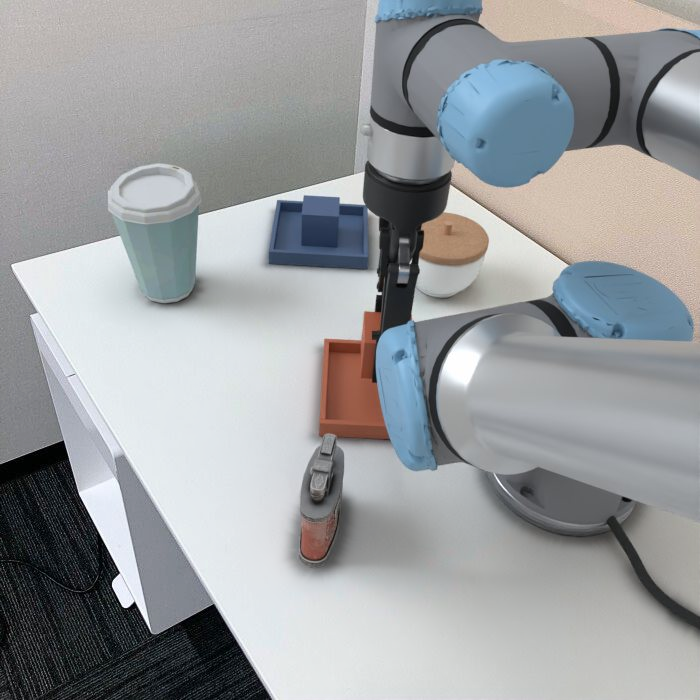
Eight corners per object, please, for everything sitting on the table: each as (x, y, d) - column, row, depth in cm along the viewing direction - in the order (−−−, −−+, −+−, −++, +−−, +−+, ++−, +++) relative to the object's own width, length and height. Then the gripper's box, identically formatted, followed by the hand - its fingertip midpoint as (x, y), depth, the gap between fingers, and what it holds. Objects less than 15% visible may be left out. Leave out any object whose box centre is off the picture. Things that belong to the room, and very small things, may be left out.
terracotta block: (408, 381, 77) (414, 345, 74) (360, 378, 77) (364, 342, 74) (406, 348, 81) (411, 313, 77) (360, 346, 81) (364, 311, 77)
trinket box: (482, 311, 94) (496, 250, 88) (398, 306, 94) (406, 244, 87) (474, 262, 102) (486, 203, 96) (396, 257, 102) (403, 198, 95)
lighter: (329, 570, 65) (334, 502, 58) (292, 563, 65) (293, 494, 59) (345, 497, 71) (352, 428, 64) (311, 491, 71) (314, 421, 65)
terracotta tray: (445, 442, 77) (447, 429, 76) (318, 436, 77) (319, 423, 75) (435, 356, 87) (437, 344, 86) (323, 351, 87) (324, 338, 85)
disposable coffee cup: (172, 325, 88) (157, 217, 78) (104, 294, 92) (82, 187, 82) (226, 281, 95) (218, 177, 85) (161, 254, 99) (146, 151, 89)
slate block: (337, 247, 102) (339, 216, 98) (301, 245, 102) (301, 214, 98) (338, 227, 105) (339, 197, 102) (303, 225, 105) (303, 195, 102)
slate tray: (367, 269, 99) (368, 256, 98) (268, 263, 99) (268, 251, 97) (366, 216, 109) (367, 204, 108) (277, 211, 109) (277, 199, 107)
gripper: (365, 115, 70) (350, 307, 85) (365, 218, 56) (348, 423, 72) (444, 120, 70) (414, 310, 86) (463, 224, 57) (424, 427, 72)
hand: (384, 361), depth 79 cm, fingers closed on terracotta block, 5 cm apart
